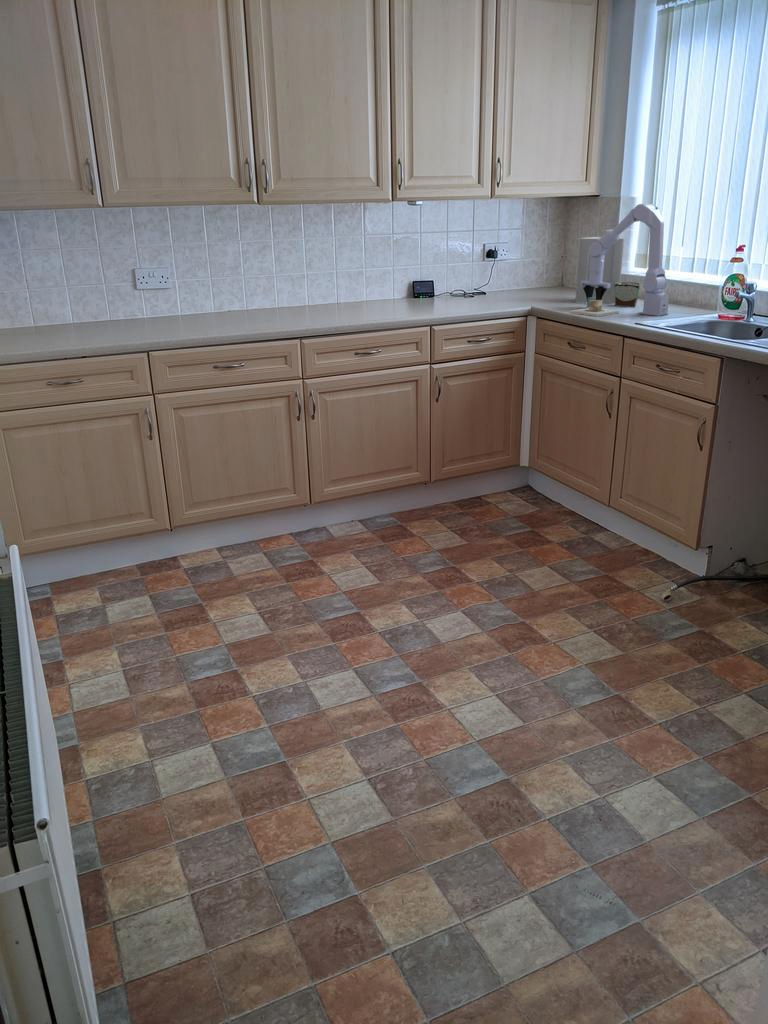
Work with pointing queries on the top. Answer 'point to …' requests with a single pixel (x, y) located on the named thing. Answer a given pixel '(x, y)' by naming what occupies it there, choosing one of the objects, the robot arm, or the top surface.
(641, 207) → the robot arm
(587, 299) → the teal brick
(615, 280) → the tall grey pillar
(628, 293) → the food container
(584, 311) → the baseplate
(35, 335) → the top surface
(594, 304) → the birch brick
